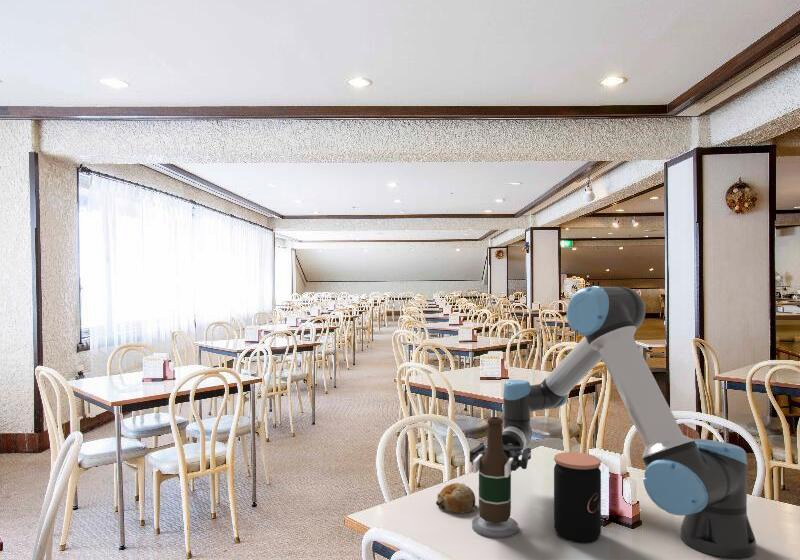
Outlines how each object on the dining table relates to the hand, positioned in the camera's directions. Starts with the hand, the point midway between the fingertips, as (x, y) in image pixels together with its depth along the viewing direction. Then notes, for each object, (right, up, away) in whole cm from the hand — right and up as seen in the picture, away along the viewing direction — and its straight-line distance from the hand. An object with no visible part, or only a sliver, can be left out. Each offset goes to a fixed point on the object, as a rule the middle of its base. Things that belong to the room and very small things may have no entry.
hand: (490, 469), depth 135 cm
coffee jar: (+21, -16, +1) cm, 26 cm away
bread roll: (-6, -16, +18) cm, 25 cm away
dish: (+2, -16, +4) cm, 16 cm away
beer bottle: (+2, -13, +4) cm, 14 cm away
